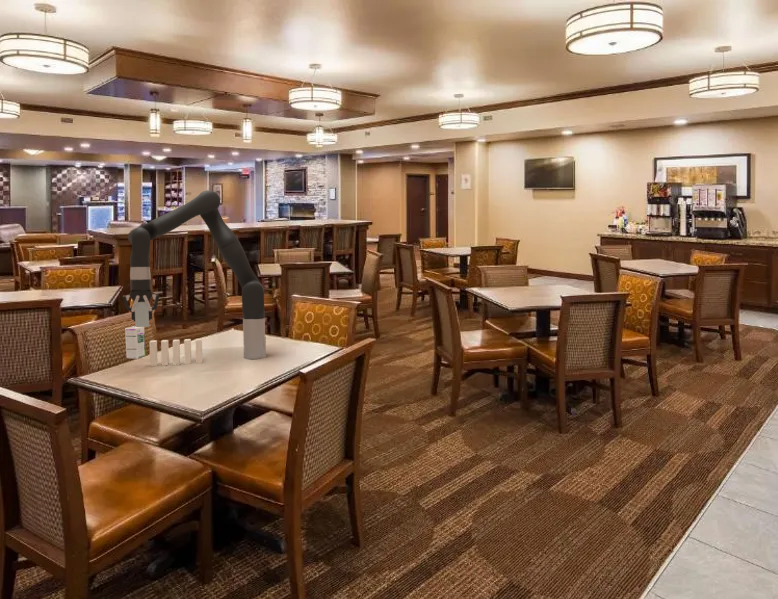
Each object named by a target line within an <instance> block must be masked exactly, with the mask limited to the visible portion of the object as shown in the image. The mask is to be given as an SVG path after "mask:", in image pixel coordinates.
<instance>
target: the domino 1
mask: <svg viewBox="0 0 778 599" xmlns="http://www.w3.org/2000/svg"><path fill="white" fill-rule="evenodd" d="M135 304H136V303H135ZM134 323H135V324H134V325H135V327H144V328H150V321H149V309H148V307H147V305H146V302H138V303H137V305H136V307H135V321H134Z"/></svg>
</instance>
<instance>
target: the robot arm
mask: <svg viewBox="0 0 778 599" xmlns="http://www.w3.org/2000/svg"><path fill="white" fill-rule="evenodd" d="M220 204H221V198H220V196H219V195H218V193H217V192H215V191H213V190H209V189H208V190H204V191H202V192H200V193H199V194H198V195H197V196H196V197H194V198H192V200H190V201H189V202H186V203H185V204H183V205H181V206H179V207H177V208H175V209H173V210H171V211H169V212H167V213H164V214H162V215H160V216H158V217H156V218H155V219H152V220H151V221H149V222H147V223H145V224H142V225H139V226H137V227H135V228H133V229H132V230H130V231H129V233H128V235H127V238H128V241H129V243H130V244H131V254H130V258H129V260H130V264H129V265H130V271H129V278H130V293H129V294H127V295H122V299H123V304H124V306H125V309H126V311H128V312H130V313H131V320H132V321H133V322H135V307H136V305H137V303H138V302H146V305H147V307H148V309H149V322H150V321H151V320H153V311H155V310H157V308H158V305H159V304H158V303H159V300H160V295H159V294H153V292H152V280H151V277H152V276H151V269H150V267H151V266H150V251H151V250H150V249H151V241H152V240H154V239H156V238H158V237H162V236H164V235H166V234H168V233H170V232H172V231H173V230H175V229H177V228H179V227H180V226H183V224H185V223H187V222H188V221H190V220H192V219H194V218H195V217H198V216H200V218H201V219H202V220H203V222H204V224H205V225H206V226H207V228H208V230H209V232H210V235H211V236H212V238H213V241H214V242H215V244H216V246H217V249H218V250H219V252H220V254H221V256H222V258H223V260H224V261H225V263H226V264H227V265H228V267H229V268H230V269H231V271H232V272H233V274H234V275H235V276H236V279H237V281H238V283H239V286H240V288H241V305H242V306H241V309H242V310H241V312H242V330H243V331H242V336H243V337H242V339H243V341H242V342H243V358H244V359H246V360H260V359H265V358H267V348H266V345H267V344H266V343H267V342H266V322H265V320H266V316H265V315H266V312H265V287H264V285H263V284H262V283H261V281H260V280H259V278H258V277H257V275H256V273H254V271H253V269H252V267H251V265H250V261H249V259H248V258H247V257H248V256H247V254H246V253H245V250H244V248H243V246H242V243H241V242H240V240H239V238H238V236H237V235H236V234H235V233H234V232H233V230H232V229H231V228H230V227H229V226H228V225H227V224H226V222H225V221H224V219H223V217H222V215H221V212H220V210H219V207H220ZM130 298H131V300H132V301H133V303H132V307H130V306H129V302H128V301H129V300H130ZM151 298H153V300H154V303H153V306H151V304H150V300H151ZM135 303H136V304H135Z"/></svg>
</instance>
